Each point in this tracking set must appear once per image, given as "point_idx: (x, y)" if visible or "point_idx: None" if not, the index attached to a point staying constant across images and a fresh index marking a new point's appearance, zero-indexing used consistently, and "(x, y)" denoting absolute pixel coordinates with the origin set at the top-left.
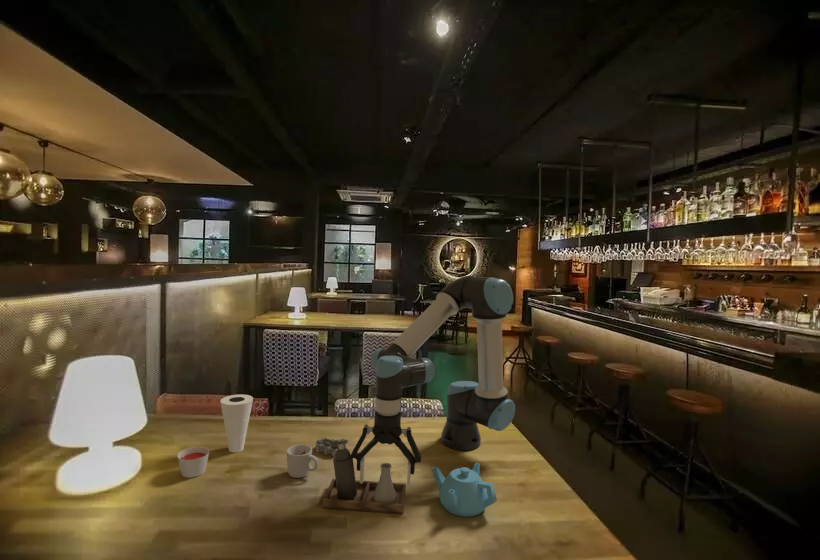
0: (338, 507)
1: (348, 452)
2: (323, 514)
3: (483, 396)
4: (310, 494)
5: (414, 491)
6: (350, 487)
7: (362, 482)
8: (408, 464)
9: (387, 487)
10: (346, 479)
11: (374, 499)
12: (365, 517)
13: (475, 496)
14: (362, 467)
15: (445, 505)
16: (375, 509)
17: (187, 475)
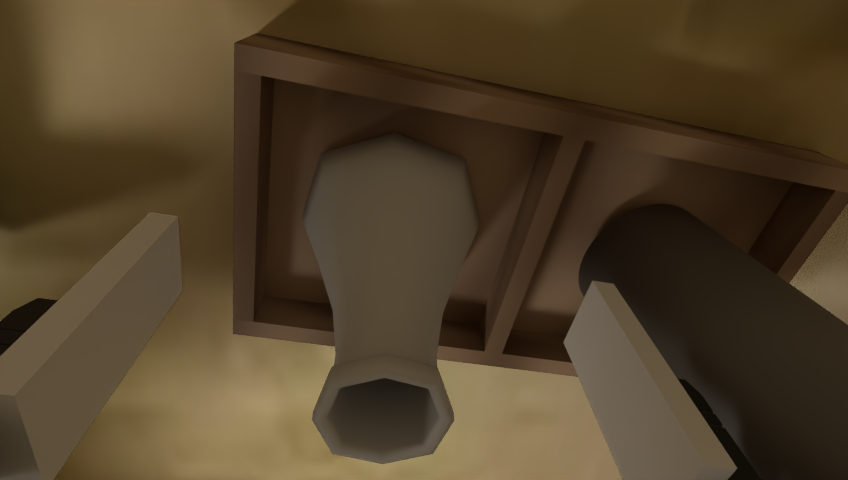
0: (731, 136)
1: None
2: (839, 82)
3: None
4: (829, 293)
5: (190, 295)
6: (679, 259)
7: (592, 289)
8: (5, 400)
9: (372, 227)
10: (767, 298)
11: (469, 193)
12: (554, 15)
13: None
14: (667, 398)
15: None
16: (473, 84)
17: None
